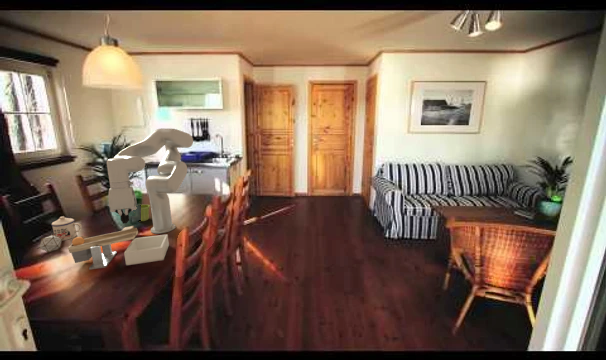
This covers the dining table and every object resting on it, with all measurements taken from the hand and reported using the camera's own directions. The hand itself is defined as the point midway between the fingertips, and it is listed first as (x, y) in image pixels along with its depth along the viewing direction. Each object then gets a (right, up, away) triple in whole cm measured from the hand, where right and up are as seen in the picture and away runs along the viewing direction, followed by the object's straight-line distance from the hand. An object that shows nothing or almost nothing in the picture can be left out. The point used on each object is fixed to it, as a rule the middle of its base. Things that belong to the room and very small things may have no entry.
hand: (125, 222), depth 125 cm
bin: (+13, -15, -2) cm, 19 cm away
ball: (-12, -6, -12) cm, 18 cm away
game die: (-36, -14, +1) cm, 39 cm away
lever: (-3, -11, -4) cm, 12 cm away
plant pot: (-16, -5, +40) cm, 43 cm away
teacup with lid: (-41, -11, +16) cm, 45 cm away
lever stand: (-5, -16, -8) cm, 18 cm away
